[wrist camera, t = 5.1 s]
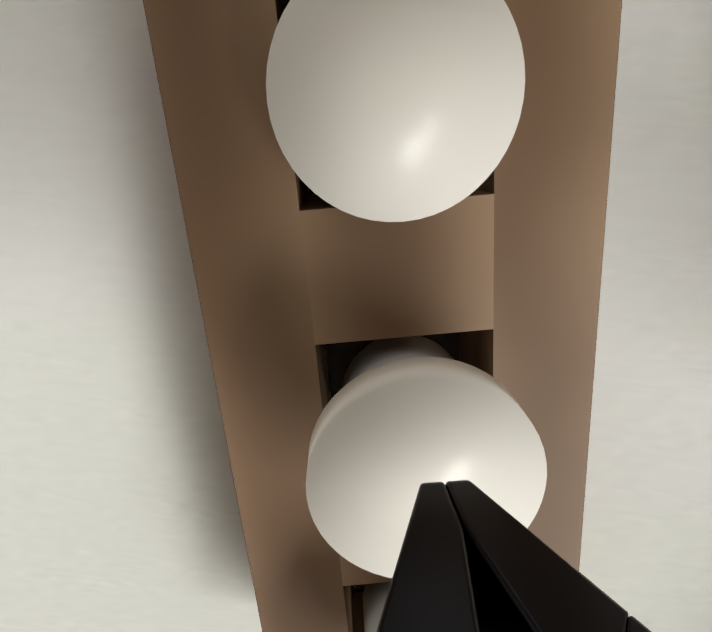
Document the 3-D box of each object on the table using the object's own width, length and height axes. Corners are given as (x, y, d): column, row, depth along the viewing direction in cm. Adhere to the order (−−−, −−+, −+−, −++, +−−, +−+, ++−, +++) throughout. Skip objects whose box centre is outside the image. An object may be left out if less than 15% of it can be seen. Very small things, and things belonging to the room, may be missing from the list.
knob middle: (488, 300, 14) (551, 365, 10) (488, 457, 16) (542, 570, 12) (305, 316, 14) (291, 388, 10) (324, 471, 16) (319, 590, 12)
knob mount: (549, -19, 14) (628, -80, 10) (528, 587, 21) (570, 684, 17) (190, 11, 14) (135, -38, 10) (288, 609, 21) (277, 711, 17)
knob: (468, -6, 14) (528, -74, 9) (470, 192, 15) (522, 211, 11) (275, 11, 14) (247, -50, 9) (298, 207, 15) (283, 232, 11)
